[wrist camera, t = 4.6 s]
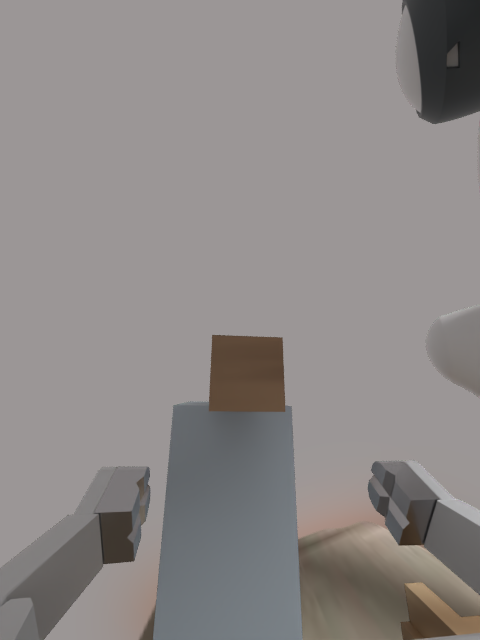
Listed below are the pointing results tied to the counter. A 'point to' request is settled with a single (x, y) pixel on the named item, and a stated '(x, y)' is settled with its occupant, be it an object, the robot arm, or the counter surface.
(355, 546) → the counter surface
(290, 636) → the stand
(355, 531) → the counter surface
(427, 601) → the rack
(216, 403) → the walnut bar
